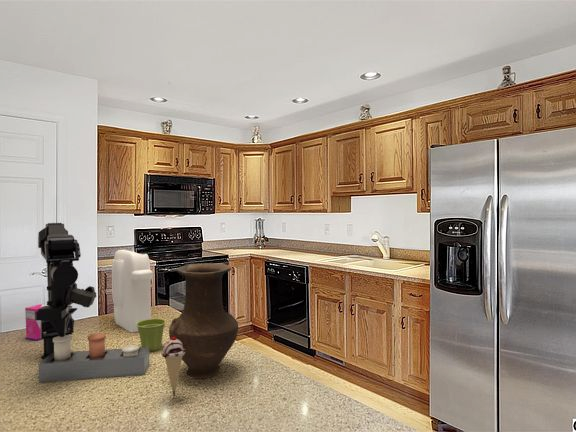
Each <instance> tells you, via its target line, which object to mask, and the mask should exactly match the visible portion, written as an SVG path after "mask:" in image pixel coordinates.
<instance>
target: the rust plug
mask: <svg viewBox="0 0 576 432" xmlns="http://www.w3.org/2000/svg"><path fill="white" fill-rule="evenodd" d="M106 337H107V335H106V333H103V332H99V333H98V332H97V333H93V334H90V335H87V341H88V351H89V358H104V356H105V350H106V343H105V341H106V340H105V339H106Z"/></svg>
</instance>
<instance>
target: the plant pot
mask: <svg viewBox="0 0 576 432" xmlns="http://www.w3.org/2000/svg"><path fill="white" fill-rule="evenodd" d="M166 323H167V321H166V320H165V319H163V318H151V319H147V320H143V321H140V322H138V323H136V326H137V327H138V330H139V332H138V333H139V340H140V345H141V347H149V352H155V351H159V350H160V349H161V347H162V344H163V334H164V329H165V325H166Z"/></svg>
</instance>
